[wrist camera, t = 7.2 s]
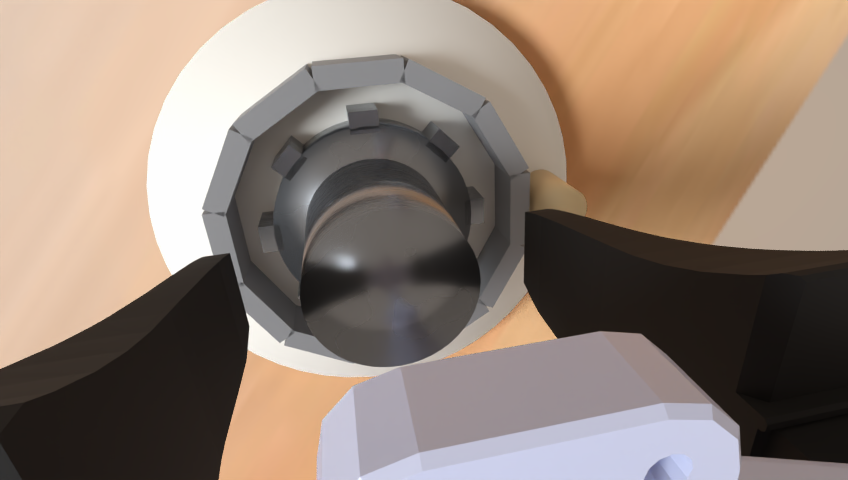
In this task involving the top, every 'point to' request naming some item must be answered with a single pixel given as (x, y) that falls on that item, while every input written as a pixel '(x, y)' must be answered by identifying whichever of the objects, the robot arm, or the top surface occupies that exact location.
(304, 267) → the planet gear
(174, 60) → the top surface
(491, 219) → the plate
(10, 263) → the top surface
